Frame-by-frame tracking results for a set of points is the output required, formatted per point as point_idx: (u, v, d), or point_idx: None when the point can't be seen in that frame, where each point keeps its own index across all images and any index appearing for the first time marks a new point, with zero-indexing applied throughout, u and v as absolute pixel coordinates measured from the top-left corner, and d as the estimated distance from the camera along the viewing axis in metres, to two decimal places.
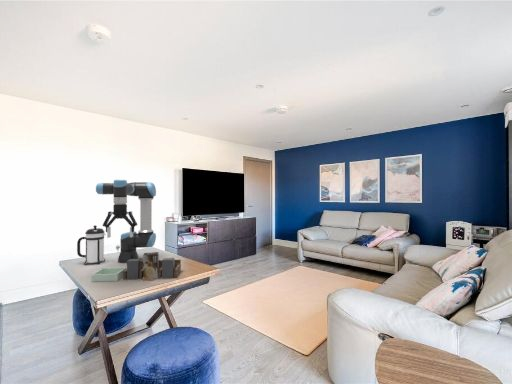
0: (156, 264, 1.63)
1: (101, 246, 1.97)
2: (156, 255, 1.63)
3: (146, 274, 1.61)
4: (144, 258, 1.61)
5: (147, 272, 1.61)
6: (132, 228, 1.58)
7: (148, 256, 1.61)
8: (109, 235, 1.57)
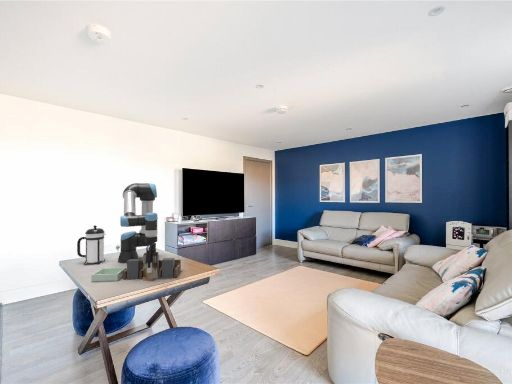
0: (156, 264, 1.63)
1: (101, 246, 1.97)
2: (156, 255, 1.63)
3: (146, 274, 1.61)
4: (144, 258, 1.61)
5: None
6: None
7: None
8: None
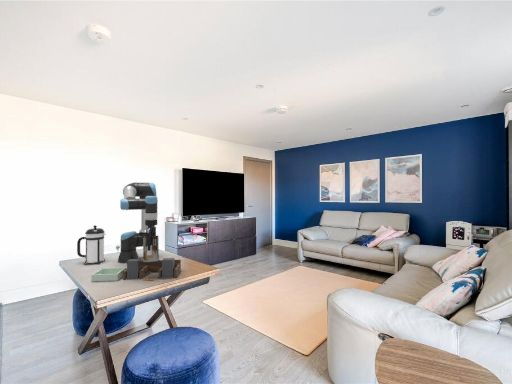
0: (156, 247, 1.63)
1: (101, 246, 1.97)
2: (156, 238, 1.63)
3: (146, 257, 1.62)
4: (144, 241, 1.61)
5: None
6: None
7: None
8: None
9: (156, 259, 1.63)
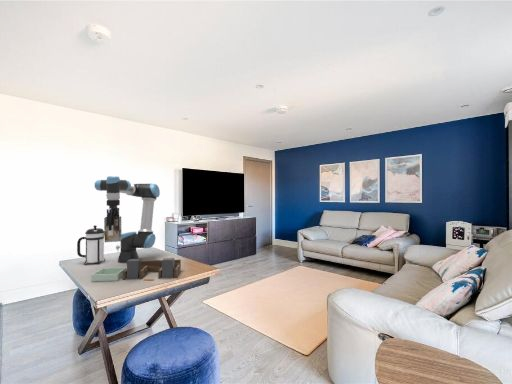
0: (118, 227, 1.62)
1: (101, 246, 1.97)
2: (118, 218, 1.62)
3: (107, 237, 1.60)
4: (105, 221, 1.60)
5: None
6: None
7: None
8: None
9: (118, 239, 1.62)
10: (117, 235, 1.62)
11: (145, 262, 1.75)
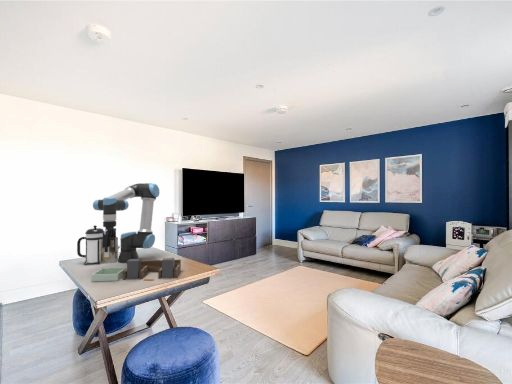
0: (114, 249, 1.62)
1: None
2: (114, 239, 1.62)
3: (103, 259, 1.60)
4: (101, 242, 1.60)
5: None
6: None
7: None
8: None
9: (114, 261, 1.62)
10: (113, 256, 1.61)
11: (145, 262, 1.75)
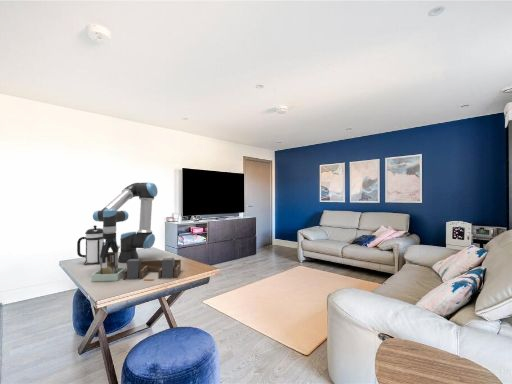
0: (113, 264, 1.61)
1: (101, 246, 1.97)
2: (113, 254, 1.61)
3: None
4: None
5: (104, 271, 1.60)
6: None
7: None
8: None
9: None
10: (113, 271, 1.61)
11: (145, 262, 1.75)
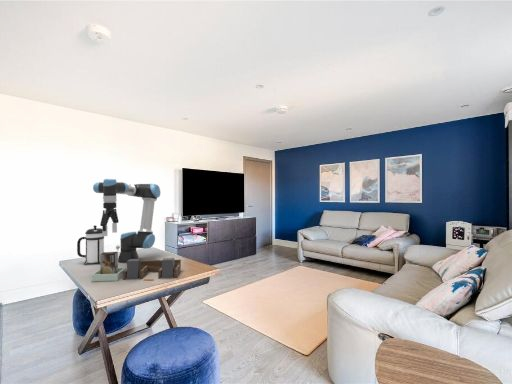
0: (113, 264, 1.61)
1: (101, 246, 1.97)
2: (113, 254, 1.61)
3: None
4: (101, 257, 1.60)
5: (104, 271, 1.60)
6: None
7: (105, 255, 1.60)
8: (114, 230, 1.71)
9: None
10: (113, 271, 1.61)
11: (145, 262, 1.75)
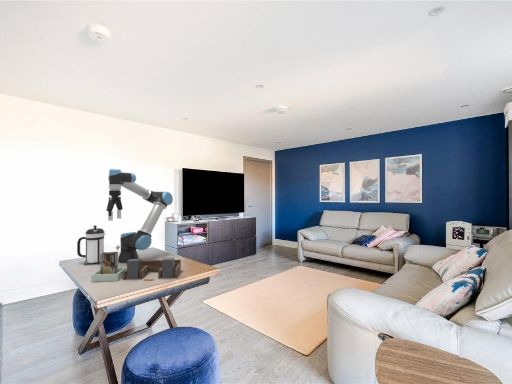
0: (113, 264, 1.61)
1: (101, 246, 1.97)
2: (113, 254, 1.61)
3: None
4: (101, 257, 1.60)
5: (104, 271, 1.60)
6: None
7: (105, 255, 1.60)
8: (118, 216, 1.87)
9: None
10: (113, 271, 1.61)
11: (145, 262, 1.75)
